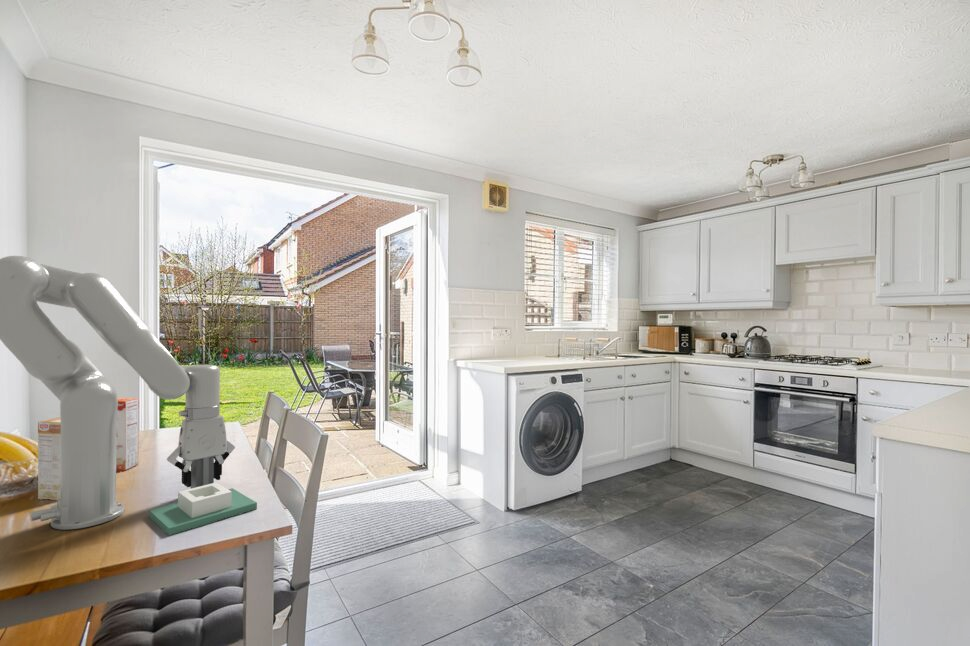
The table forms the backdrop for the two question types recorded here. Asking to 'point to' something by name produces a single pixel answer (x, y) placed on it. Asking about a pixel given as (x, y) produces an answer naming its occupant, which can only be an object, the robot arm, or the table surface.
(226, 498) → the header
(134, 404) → the cracker box
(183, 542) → the table surface
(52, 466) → the coffeecake box
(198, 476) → the plug
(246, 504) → the board
